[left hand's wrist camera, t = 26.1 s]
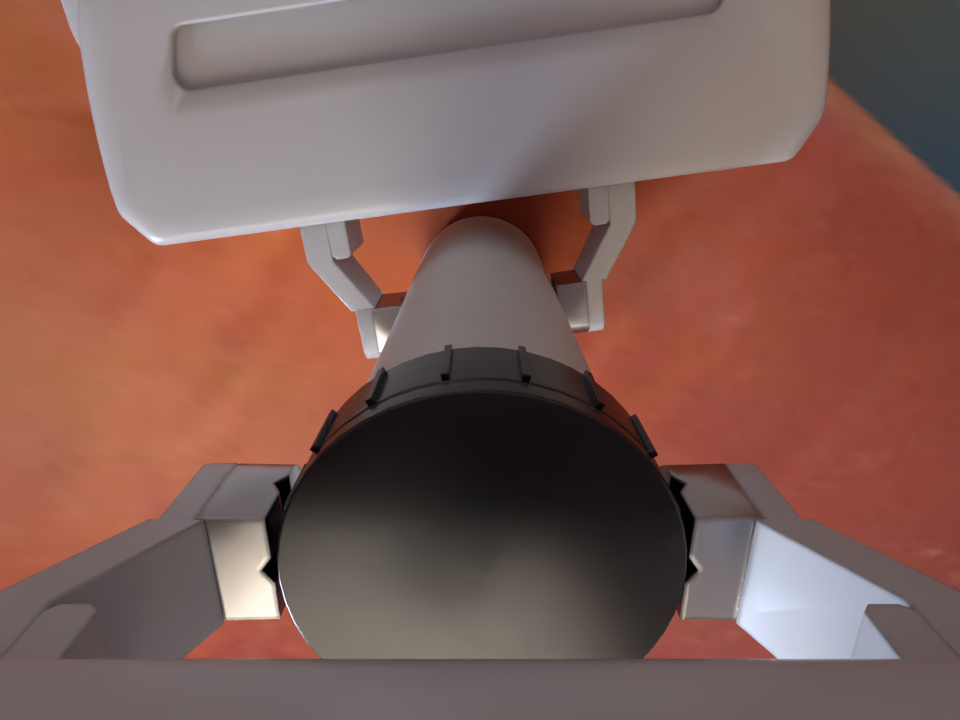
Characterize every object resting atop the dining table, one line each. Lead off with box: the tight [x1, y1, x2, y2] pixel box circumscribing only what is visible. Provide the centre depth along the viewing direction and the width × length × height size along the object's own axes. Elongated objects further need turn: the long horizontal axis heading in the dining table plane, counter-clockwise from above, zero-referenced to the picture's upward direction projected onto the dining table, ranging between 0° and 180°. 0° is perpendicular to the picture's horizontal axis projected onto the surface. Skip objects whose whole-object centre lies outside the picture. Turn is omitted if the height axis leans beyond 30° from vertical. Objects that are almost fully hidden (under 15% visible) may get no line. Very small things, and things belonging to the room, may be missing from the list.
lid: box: [277, 344, 687, 659], centre depth 9 cm, size 6×6×2 cm
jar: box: [368, 216, 591, 382], centre depth 17 cm, size 5×5×17 cm
